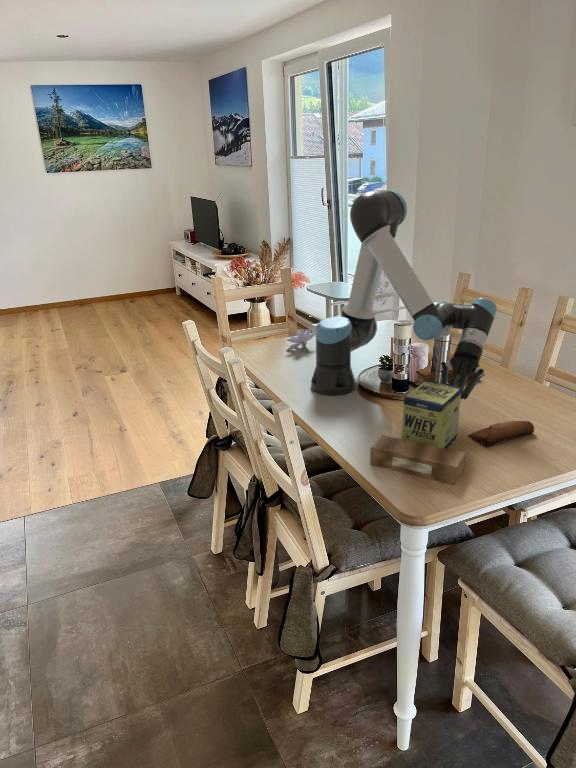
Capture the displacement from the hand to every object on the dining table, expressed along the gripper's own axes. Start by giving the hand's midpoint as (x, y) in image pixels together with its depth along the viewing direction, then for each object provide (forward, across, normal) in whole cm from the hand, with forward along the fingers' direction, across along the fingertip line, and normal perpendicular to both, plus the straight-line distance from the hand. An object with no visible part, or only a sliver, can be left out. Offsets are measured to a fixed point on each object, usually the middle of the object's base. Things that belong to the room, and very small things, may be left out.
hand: (445, 417), depth 169 cm
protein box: (+10, 0, -4) cm, 11 cm away
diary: (-25, -19, +32) cm, 44 cm away
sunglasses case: (0, +14, +7) cm, 16 cm away
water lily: (-25, -76, +31) cm, 85 cm away
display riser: (+20, +2, -14) cm, 25 cm away
